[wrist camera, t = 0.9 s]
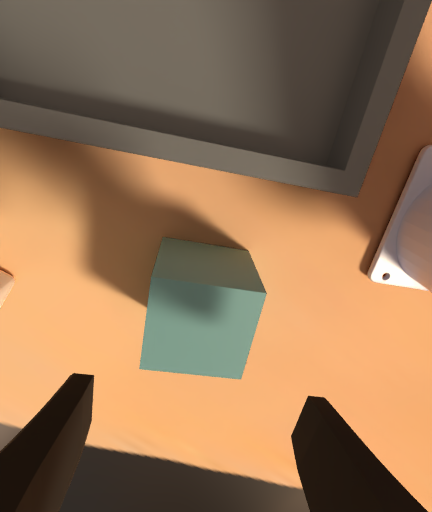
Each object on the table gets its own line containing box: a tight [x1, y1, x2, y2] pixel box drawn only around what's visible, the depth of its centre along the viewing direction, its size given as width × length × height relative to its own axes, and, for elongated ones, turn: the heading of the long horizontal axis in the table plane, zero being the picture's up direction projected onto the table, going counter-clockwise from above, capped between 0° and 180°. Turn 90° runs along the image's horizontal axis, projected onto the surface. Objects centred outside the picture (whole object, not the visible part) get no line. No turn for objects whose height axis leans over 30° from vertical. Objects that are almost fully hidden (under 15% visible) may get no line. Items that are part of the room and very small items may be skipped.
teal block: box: [139, 237, 267, 379], centre depth 16 cm, size 5×5×5 cm
